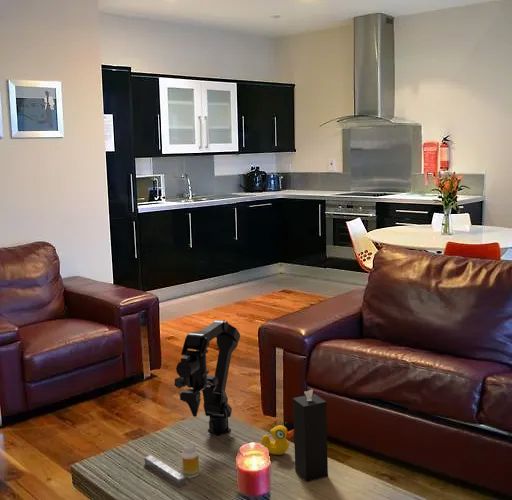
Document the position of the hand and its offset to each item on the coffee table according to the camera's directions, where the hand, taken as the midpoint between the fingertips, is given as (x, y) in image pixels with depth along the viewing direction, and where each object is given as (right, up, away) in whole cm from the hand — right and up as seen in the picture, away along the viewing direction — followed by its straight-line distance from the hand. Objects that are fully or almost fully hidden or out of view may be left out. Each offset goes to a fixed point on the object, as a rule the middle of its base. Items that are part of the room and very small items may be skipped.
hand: (200, 411), depth 221 cm
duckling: (+27, -13, -6) cm, 31 cm away
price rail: (-10, -16, -17) cm, 25 cm away
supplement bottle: (-2, -16, -17) cm, 24 cm away
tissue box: (+37, -15, -21) cm, 45 cm away
